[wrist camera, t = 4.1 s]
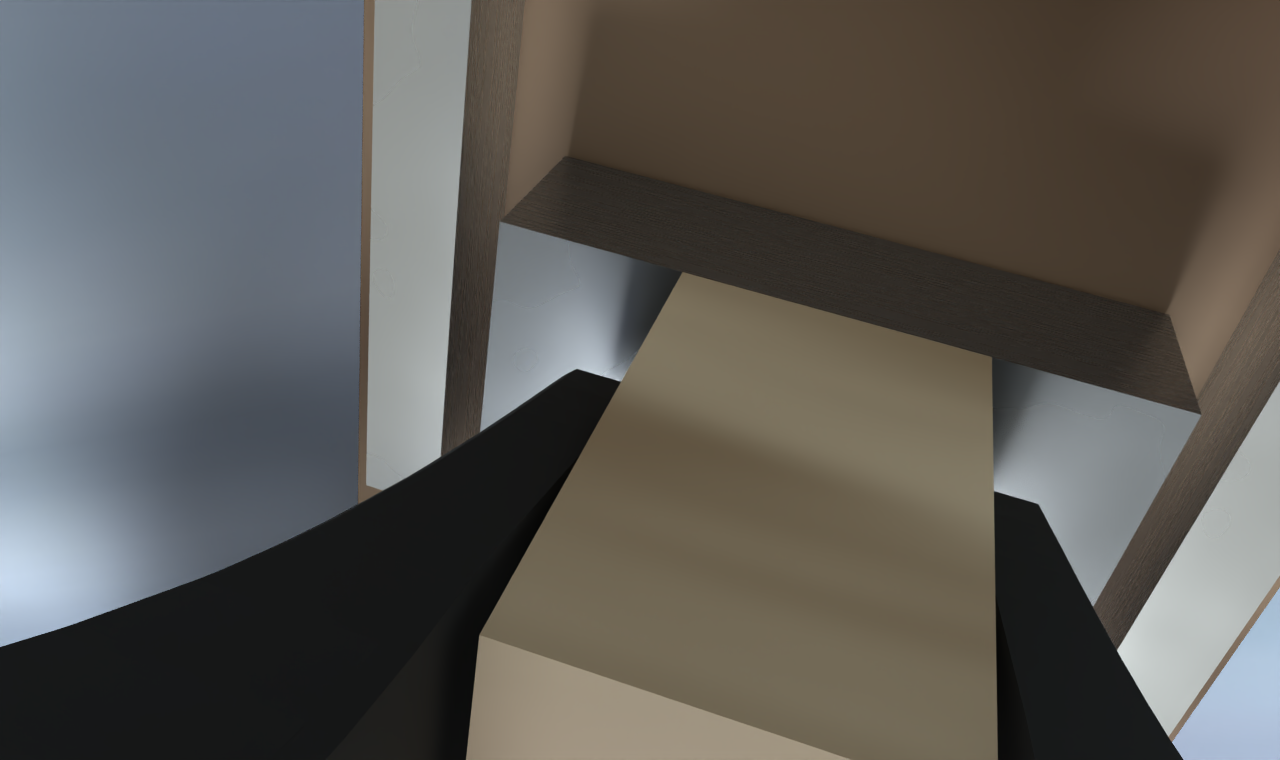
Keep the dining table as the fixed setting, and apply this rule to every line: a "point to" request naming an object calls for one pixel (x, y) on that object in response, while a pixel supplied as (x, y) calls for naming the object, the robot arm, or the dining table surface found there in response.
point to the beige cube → (793, 476)
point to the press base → (872, 210)
